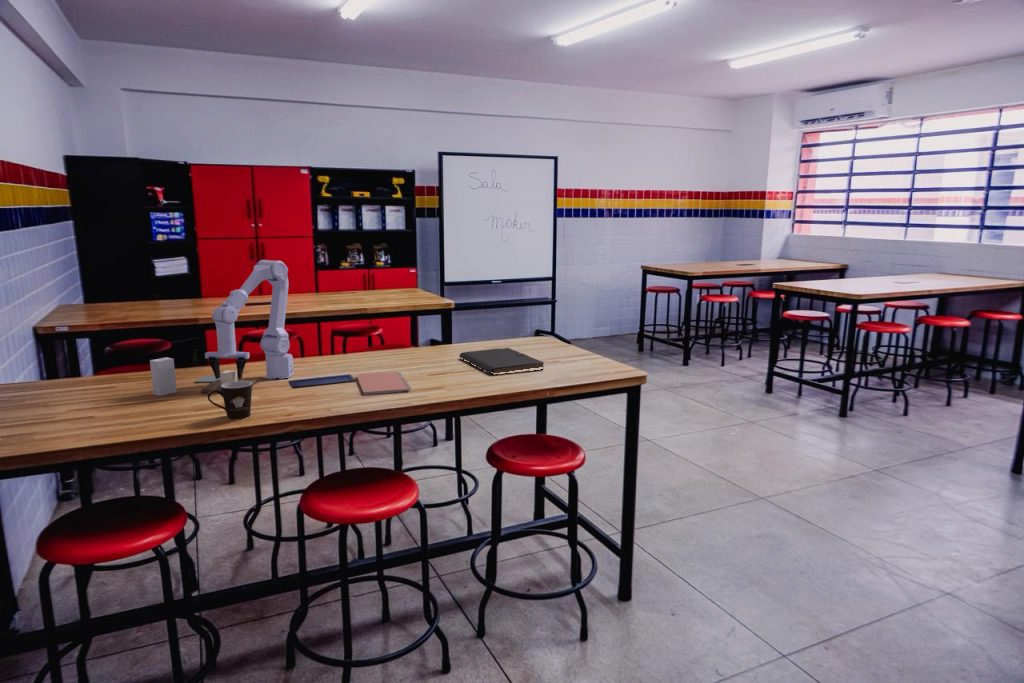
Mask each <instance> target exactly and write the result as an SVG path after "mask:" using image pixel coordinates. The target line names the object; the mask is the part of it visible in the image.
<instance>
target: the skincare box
mask: <svg viewBox="0 0 1024 683" xmlns="http://www.w3.org/2000/svg"><path fill="white" fill-rule="evenodd" d="M149 366H150V373H151V374H150V375H151V384H152V392H153V395H154V394H155V396H159V397H163V396H165V395H171V394H175V393H177V392H178V391H177V390H178V388H177V379H176V371H175V370H176V369H175V362H174V358H171V357H167V356H166V357H161V358H157V359H150V360H149Z"/></svg>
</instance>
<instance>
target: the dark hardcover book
mask: <svg viewBox="0 0 1024 683" xmlns="http://www.w3.org/2000/svg"><path fill="white" fill-rule="evenodd" d="M459 357H461V358H463V359H465V360H467V361H469V362H470V363H472V364H474V365H476V366H477V367H479V368H481V369H482V370H485V371H486V372H488V373H490V374H492V373H491V372H493V373H500V372H509V371H515V370H523V369H530V368H539V367H543V368H544V363H545V362H544V361H541V360H540V359H537V358H534V357H531V356H530V355H527V354H524V353H522V352H519V351H517V350H514V349H513V348H509V347H504V348H490V349H482V350H471V351H463V352H461V353H460V354H459ZM477 367H476V368H477ZM479 368H478V369H479ZM482 370H481V371H482ZM486 372H485V373H486ZM488 373H487V374H488ZM490 374H489V375H490Z"/></svg>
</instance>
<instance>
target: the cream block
mask: <svg viewBox="0 0 1024 683" xmlns="http://www.w3.org/2000/svg"><path fill="white" fill-rule="evenodd" d="M220 376H221V385H222V384H224V383H228V382H234V381H237V380H238V376H237V370H224V371H222V372H220Z"/></svg>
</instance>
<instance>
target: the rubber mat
mask: <svg viewBox="0 0 1024 683" xmlns="http://www.w3.org/2000/svg"><path fill="white" fill-rule="evenodd" d="M218 379H221V375H220V378H218ZM215 380H217V379H216V378H215V375H204V376H202V377H200V378H198V379H197V380H195V381H194V383H195V382H214V381H215Z"/></svg>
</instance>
